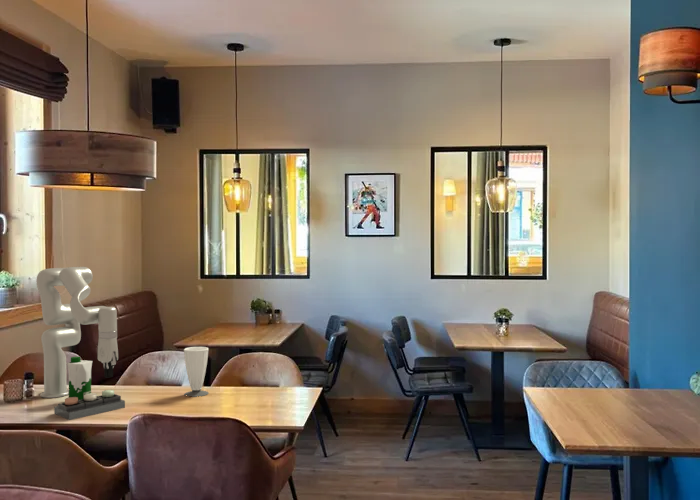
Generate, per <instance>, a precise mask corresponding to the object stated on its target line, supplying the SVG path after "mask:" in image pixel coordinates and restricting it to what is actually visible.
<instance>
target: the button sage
mask: <svg viewBox="0 0 700 500" xmlns="http://www.w3.org/2000/svg"><path fill="white" fill-rule="evenodd" d="M114 394H115V390H114V389H105V390H102V391H101V395H102V397H112V396H114Z"/></svg>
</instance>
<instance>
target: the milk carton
mask: <svg viewBox="0 0 700 500" xmlns="http://www.w3.org/2000/svg"><path fill="white" fill-rule="evenodd" d="M92 366H93V360H85V359H84V360H81V356H72V357H70V361H69V362H66V368H67V370H68V390H69V394H68V397H67V398H69V397H78V400H81V399H84V395H85V394H90V393H92Z"/></svg>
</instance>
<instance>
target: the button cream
mask: <svg viewBox="0 0 700 500" xmlns="http://www.w3.org/2000/svg"><path fill="white" fill-rule="evenodd" d="M97 396H98V395H97V393H92V392H91V393H90V394H85V395H84V401H93V400H96V399H97Z"/></svg>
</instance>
